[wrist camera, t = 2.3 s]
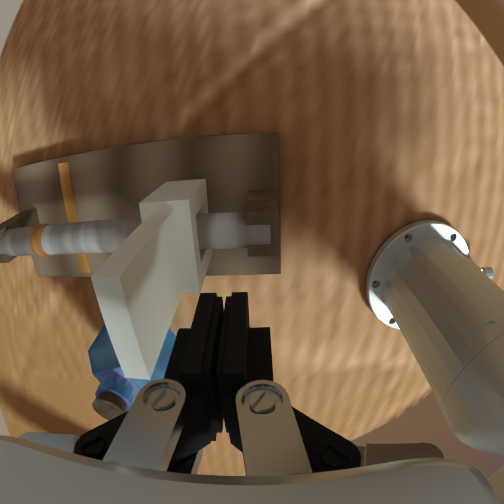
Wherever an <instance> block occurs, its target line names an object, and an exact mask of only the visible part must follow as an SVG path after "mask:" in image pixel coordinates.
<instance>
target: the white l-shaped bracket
mask: <svg viewBox="0 0 504 504" xmlns="http://www.w3.org/2000/svg"><path fill="white" fill-rule="evenodd" d="M139 207H140V214H141V220H142V223H141V224H140V225H139V226H138V227H137V228H136V229H135V230H134V231H133V232H132V233H131V234H130V235H129V236H128V237H127V238H126V239H125V241H124V242H123V243H122V244H121V245H120V246H119V247H118V248H117V249H116V250H115V251H114V252H113V253H112V254H111V255H110V256H109V257H108V259H107V260H106V261H105V262H104V263H103V264H102V265H101V266H100V267H99V268H98V269H97V271H96V272H95V273H94V274H93V275H92V276H91V280H92V283H93V287H94V290H95V294H96V297H97V300H98V304H99V307H100V310H101V313H102V316H103V319H104V322H105V325H106V328H107V331H108V334H109V337H110V340H111V342H112V345H113V348H114V350H115V353H116V356H117V358H118V361H119V363H120V366H121V369H122V371H123V373H124V376H125V378H134V379H145V380H150V379H151V376H152V373H153V371H154V368H155V365H156V362H157V359H158V357H159V354H160V351H161V348H162V346H163V343H164V340H165V338H166V335H167V332H168V330H169V327H170V324H171V322H172V319H173V316H174V314H175V311H176V309H177V306H178V303H179V301H180V298H181V296H182V294H189V293H200V292H201V289H202V285H203V282H204V279H205V275H206V272H207V269H208V266H209V263H210V259H211V256H212V249H199V242H198V233H197V223H196V215H197V214H203V213H208V202H207V190H206V179H196V180H182V181H169V182H165V183H164V184H163V185H162V186H160V187H159V188H158V189H156V190H155V191H154V192H152V193H151V194H150V195H149V196H147V197H146V198H145V199H143V200H142V201H141V202H140V203H139Z"/></svg>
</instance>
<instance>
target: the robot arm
mask: <svg viewBox="0 0 504 504" xmlns="http://www.w3.org/2000/svg"><path fill="white" fill-rule="evenodd" d="M492 277H493V269H492V268H491V267H482V268H480V267H479V266H477V265H476V264H475V263H474V262H473V261H472V260H470V255H469V250H468V246H467V244H466V242H465V240H464V238H463V237H462V236H461V234H460V233H459V232H458V231H457V230H455V229H454V228H453V227H451V226H450V225H448V224H446V223H444V222H441V221H437V220H422V221H417V222H414V223H411V224H409V225H407V226H404V227H403V228H401V229H400V230H398V231H397V232H395V233H394V234H393V235H392V236H391V237H390V238H388V239H387V240H386V241H385V243H384V244H383V245H382V246H381V248H380V249H379V250H378V251H377V253H376V255H375V257H374V258H373V260H372V262H371V265H370V268H369V270H368V274H367V279H366V295H367V300H368V303H369V305H370V307H371V310H372V311H373V313H374V314H375V316H376V317H377V318H378V319H379V320H380V321H381V322H382V323H383V324H385V325H387V326H389V327H392V328H396V329H400V330H401V332H402V334H403V336H404V338H405V339H406V341H407V343H408V345H409V347H410V349H411V350H412V352H413V354H414V356H415V358H416V360H417V362H418V364H419V365H420V367H421V369H422V371H423V373H424V375H425V377H426V379H427V381H428V383H429V385H430V387H431V389H432V391H433V393H434V395H435V397H436V399H437V401H438V403H439V405H440V407H441V409H442V411H443V414H444V415H445V418H446V420H447V422H448V424H449V426H450V428H451V429H452V431H453V433H454V434H455V435H456V436H457V438H458V439H459V440H461V441H462V442H463V443H465V444H466V445H468V446H470V447H473V448H475V449H479V450H483V451H487V452H491V453H494V454H497V455H499V456H501V457H502V458H503V459H504V291H503V290H502V289H501V288H500V287H499V286H498V285H497V284H496V283H495V282H493V281H492V280H491V279H492ZM223 418H224V422H225V427H226V432H227V433H229V436H230V441H231V444H233V445H234V446H235V447H236V448H237V449H239V450H240V451H241V452H242V453H243V459H244V465H245V471H246V476H215V475H198V474H197V470H198V467H199V464H200V461H201V458H202V454H203V447H205V446H206V445H208V444H209V443H211V441H216V433H217V432H219V433H222V430H223ZM0 504H504V465H503V467H502V468H501V469H500V470H499V471H498V472H497V473H495V474H494V475H493V476H492V477H490V478H489V480H488V479H487V478H486V477H485V475H484V474H483V473H482V472H481V470H480V469H478V468H477V467H476V466H475V465H473V464H471V463H468V462H465V461H461V460H456V459H448V458H444V455H443V452H442V451H441V450H440V449H439V448H438V447H437V446H436V445H433V444H431V443H402V444H401V443H399V444H373V443H372V444H371V443H367V444H366V446H356V445H354V444H353V443H352V442H350V441H349V440H347V439H345V438H343V437H342V436H340V435H338V434H336V433H335V432H333V431H331V430H330V429H328V428H326V427H324V426H323V425H321V424H319V423H318V422H316V421H314V420H313V419H311V418H309V417H308V416H306V415H305V414H303V413H301V412H300V411H298V410H297V409H295V408H293V407H292V406H291V402H290V399H289V396H288V393H287V392H286V390H285V389H284V388H283V387H282V386H281V385H280V384H278V383H276V382H273V368H272V352H271V337H270V327H262V328H250V326H249V308H248V293H247V292H232V296H229V297H226V302H225V309H223V300H222V297H217V294H216V293H200V296H199V300H198V304H197V307H196V311H195V315H194V319H193V322H192V326H191V328H180V329H179V330H178V332H177V336H176V339H175V342H174V345H173V349H172V352H171V355H170V359H169V362H168V365H167V369H166V372H165V375H164V379H158V380H154V381H151V382H149V383H147V384H146V385H145V386H143V387H142V389H141V390H140V391H139V393H138V395H137V396H136V398H135V400H134V402H133V404H132V406H131V407H130V409H129V410H128V411H126V412H125V413H123V414H121V415H119V416H117V417H115V418H113V419H111V420H109V421H108V422H106V423H104V424H102V425H100V426H98V427H96V428H94V429H92V430H90V431H88V432H86V433H85V434H83V435H82V436H80V437H77V436H76V435H75V434H54V433H37V432H27V433H24V434H22V435H20V436H19V437H18V438H16V437H11V436H1V435H0Z"/></svg>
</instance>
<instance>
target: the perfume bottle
mask: <svg viewBox="0 0 504 504" xmlns="http://www.w3.org/2000/svg"><path fill="white" fill-rule="evenodd" d="M175 339H176V336H175V335H174V333H173V332H172V331H171V329H170V328H169V330H168V332H167V335H166V338H165V340H164V343H163V346H162V348H161V351H160V354H159V357H158V359H157V362H156V365H155V368H154V371H153V373H152V376H151V379H150V380H145V379H134V378H125V376H124V373H123V371H122V369H121V366H120V363H119V361H118V358H117V356H116V353H115V350H114V348H113V345H112V342H111V340H110V337H109V334H108V331H107V328H106V325H105V324H104V326H103V328H102V329H101V331H100V332H99V334H98V336H97V337H96V339H95V341H94V342H93V344H92V345H91V347H90V349H89V350H88V353H89V359H90V364H91V368H92V373H93V375H94V376H95V377H96V378H97V379H98V380H99V382H100V385H99V387H98V389H97V391H96V399H95V400H94V402H93V403H92V406H93V408H94V410H95V411H96V412H97V413H98V414H99V415H100V416H102V417H104V418H105V419H108V420H111V419H113V418H115V417H117V416H119V415H121V414H123V413H125V412H126V411H128V410H129V409H130V407H131V406H132V403H133V398H136V396H137V395H138V393H139V391H140V390H141V389H142V387H143V386H145V385H146V384H147V383H149V382H151V381H154V380H158V379H164V375H165V372H166V369H167V365H168V362H169V359H170V355H171V352H172V349H173V345H174V342H175Z"/></svg>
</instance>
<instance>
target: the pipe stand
mask: <svg viewBox="0 0 504 504" xmlns="http://www.w3.org/2000/svg"><path fill="white" fill-rule="evenodd" d="M13 174H14V180H15V186H16V191H17V197H18V202H19V207H20V211H21V213H19V214H17V215H15V216H13V217H12V218H10V219H8V220H6V221H5V222H3V223H1V224H0V263H9V262H10V261H11V260H13V259H14V258H15V257H17V256H25V255H32V258H33V262H34V265H35V268H36V271H37V274H38V276H52V277H91V276H92V275H93V274H94V273H95V272H96V271H97V269H98V268H99V267H100V266H101V265H102V264H103V263H104V262H105V261H106V260H107V259H108V257H109V256H110V255H111V254H112V253H113V252H114V251H115V250H116V249H117V248H118V247H119V246H120V245H121V244H122V243H123V242H124V241H125V239H126V238H127V237H128V236H129V235H130V234H131V233H132V232H133V231H134V230H135V229H136V228H137V227H138V226H139V225H140V224H141V223H142V220H141V214H140V207H139V203H140V202H141V201H142V200H143V199H145V198H146V197H147V196H149V195H150V194H151V193H152V192H154V191H155V190H156V189H158V188H159V187H160V186H162V185H163V184H164V183H165V182H169V181H182V180H196V179H206V190H207V202H208V213H203V214H197V215H196V223H197V233H198V242H199V249H212V256H211V259H210V263H209V266H208V269H207V272H206V275H205V276H210V275H252V274H281V247H280V171H279V134H278V133H244V134H225V135H210V136H198V137H187V138H176V139H167V140H158V141H150V142H143V143H135V144H128V145H122V146H115V147H109V148H103V149H98V150H92V151H87V152H81V153H76V154H71V155H66V156H62V157H57V158H53V159H48V160H44V161H40V162H36V163H31V164H28V165H24V166H21V167H18V168H15V169H13Z"/></svg>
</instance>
